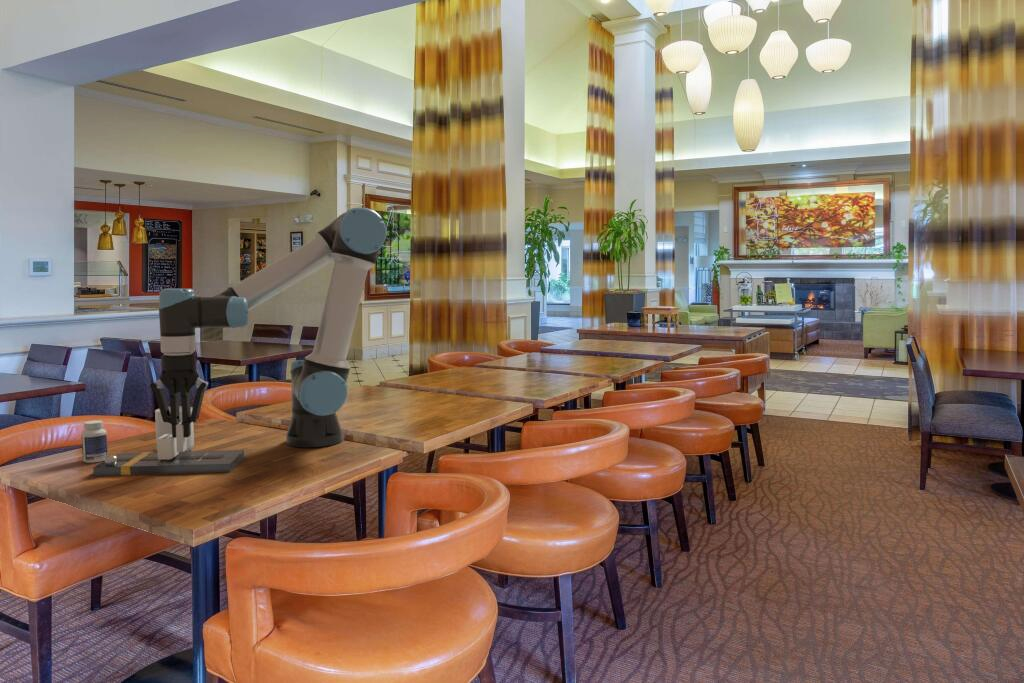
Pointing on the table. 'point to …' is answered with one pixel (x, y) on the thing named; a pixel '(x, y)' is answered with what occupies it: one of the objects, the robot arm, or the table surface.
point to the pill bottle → (94, 442)
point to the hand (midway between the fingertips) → (182, 450)
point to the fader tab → (166, 447)
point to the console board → (169, 463)
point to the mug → (167, 428)
